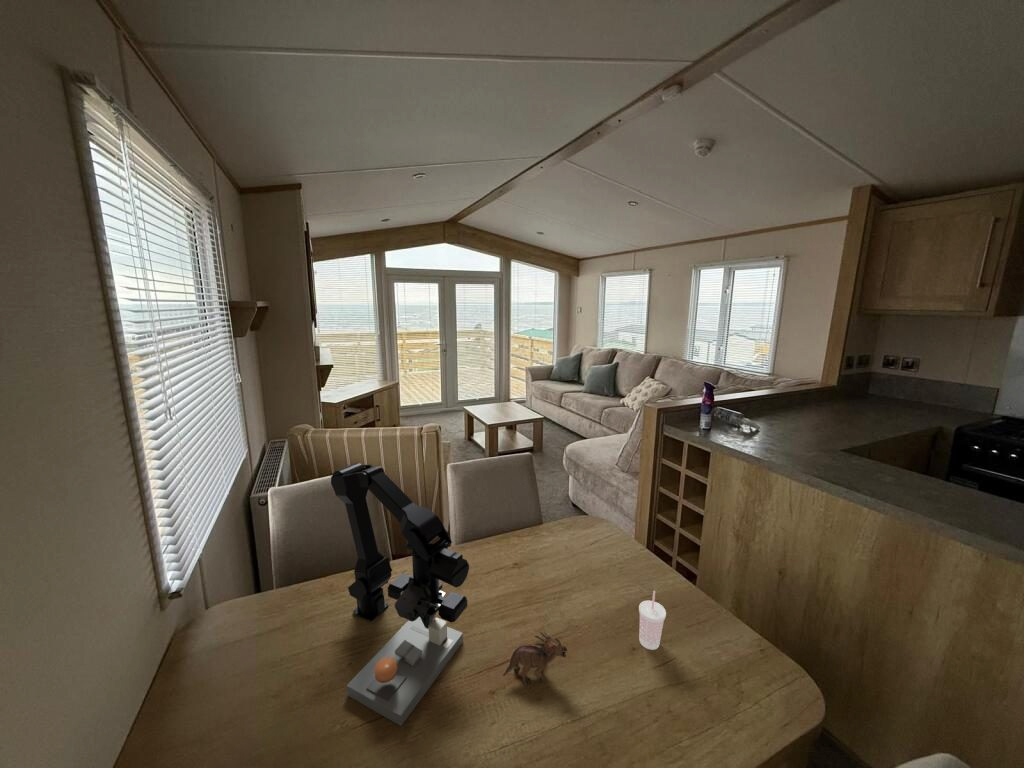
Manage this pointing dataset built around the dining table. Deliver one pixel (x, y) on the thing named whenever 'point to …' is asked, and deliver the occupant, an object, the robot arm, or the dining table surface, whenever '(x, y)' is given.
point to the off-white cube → (437, 631)
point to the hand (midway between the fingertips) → (427, 627)
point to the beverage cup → (651, 623)
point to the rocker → (408, 652)
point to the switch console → (404, 672)
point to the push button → (385, 670)
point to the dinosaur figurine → (536, 656)
